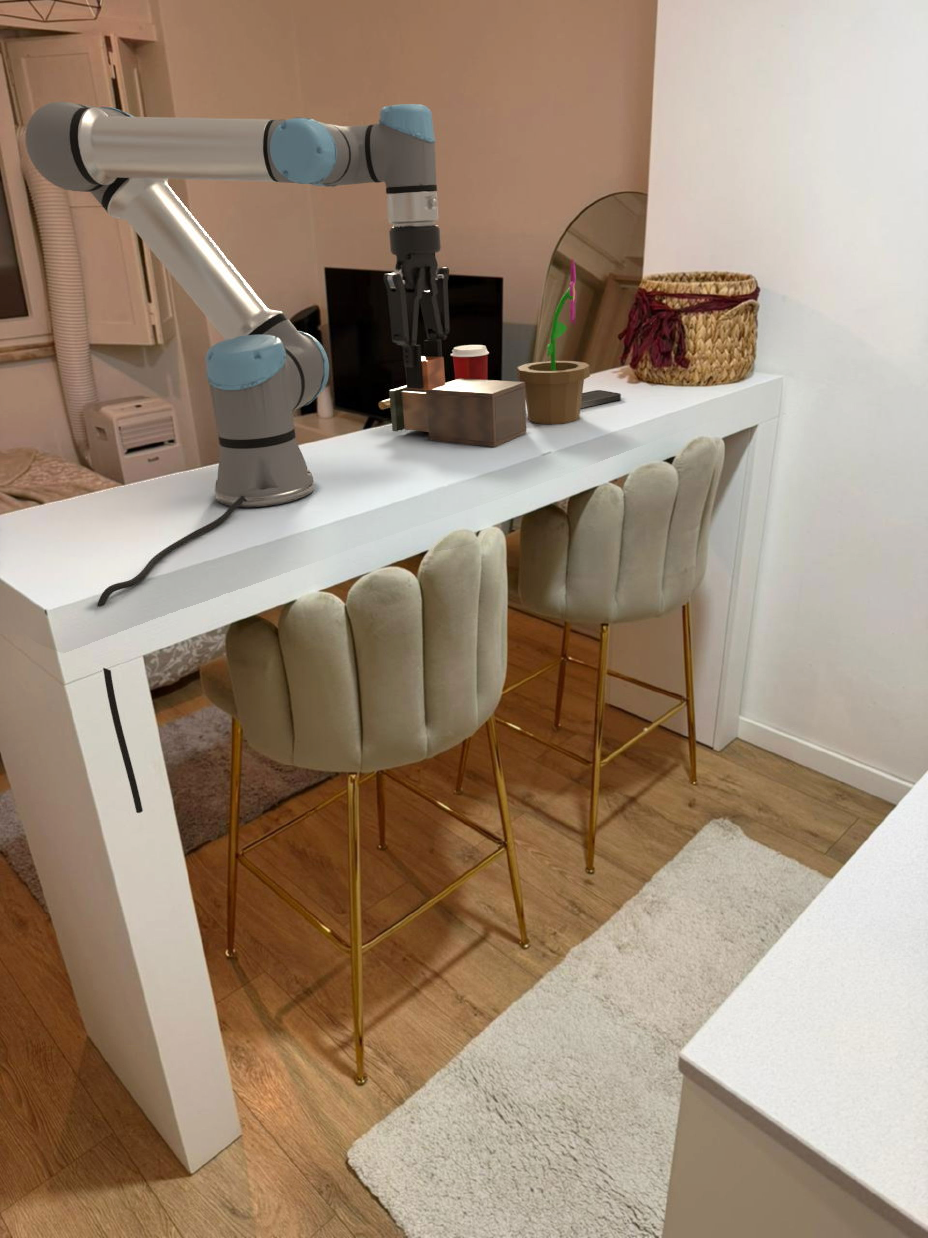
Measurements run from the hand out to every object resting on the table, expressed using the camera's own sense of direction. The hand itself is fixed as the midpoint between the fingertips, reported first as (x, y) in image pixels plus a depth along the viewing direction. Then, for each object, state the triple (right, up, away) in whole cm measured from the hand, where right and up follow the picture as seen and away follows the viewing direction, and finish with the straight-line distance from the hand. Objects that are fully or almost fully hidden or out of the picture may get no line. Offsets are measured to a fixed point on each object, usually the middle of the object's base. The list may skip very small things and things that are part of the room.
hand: (424, 384), depth 141 cm
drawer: (-1, 0, +33) cm, 33 cm away
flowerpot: (+24, +3, +38) cm, 45 cm away
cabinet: (+9, -3, +27) cm, 29 cm away
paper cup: (+8, +5, +44) cm, 45 cm away
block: (0, 0, 0) cm, 0 cm away
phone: (+32, +9, +50) cm, 61 cm away
